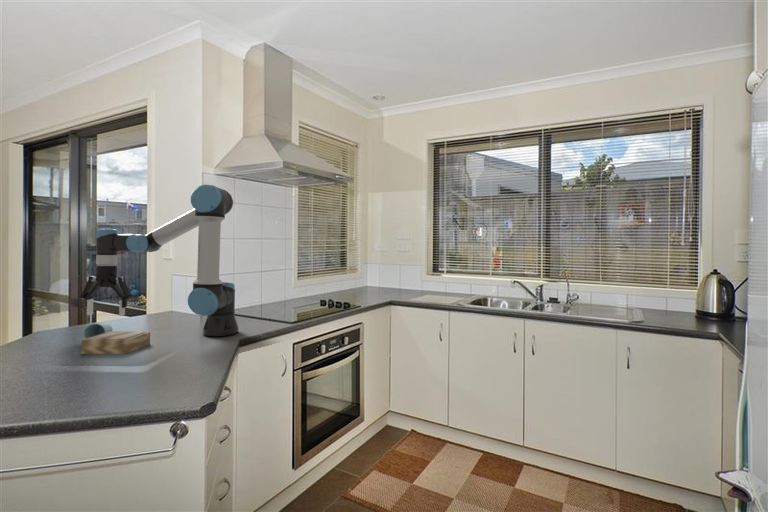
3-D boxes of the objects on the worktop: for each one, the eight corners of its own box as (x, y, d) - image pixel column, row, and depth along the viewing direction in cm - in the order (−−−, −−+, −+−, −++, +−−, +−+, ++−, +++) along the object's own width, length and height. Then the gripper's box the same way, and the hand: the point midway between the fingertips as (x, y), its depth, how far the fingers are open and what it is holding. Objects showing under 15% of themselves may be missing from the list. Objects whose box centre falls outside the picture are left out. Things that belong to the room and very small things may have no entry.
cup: (118, 335, 180) (107, 338, 170) (98, 342, 179) (87, 345, 169) (112, 318, 180) (101, 321, 170) (93, 325, 179) (81, 327, 169)
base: (150, 344, 169) (150, 331, 169) (125, 354, 153) (125, 339, 153) (110, 343, 169) (110, 330, 169) (81, 353, 153) (81, 339, 153)
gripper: (141, 265, 182) (140, 314, 182) (83, 264, 182) (82, 313, 182) (130, 266, 175) (130, 317, 175) (70, 264, 175) (70, 315, 175)
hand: (106, 315), depth 179 cm, fingers open, 13 cm apart
